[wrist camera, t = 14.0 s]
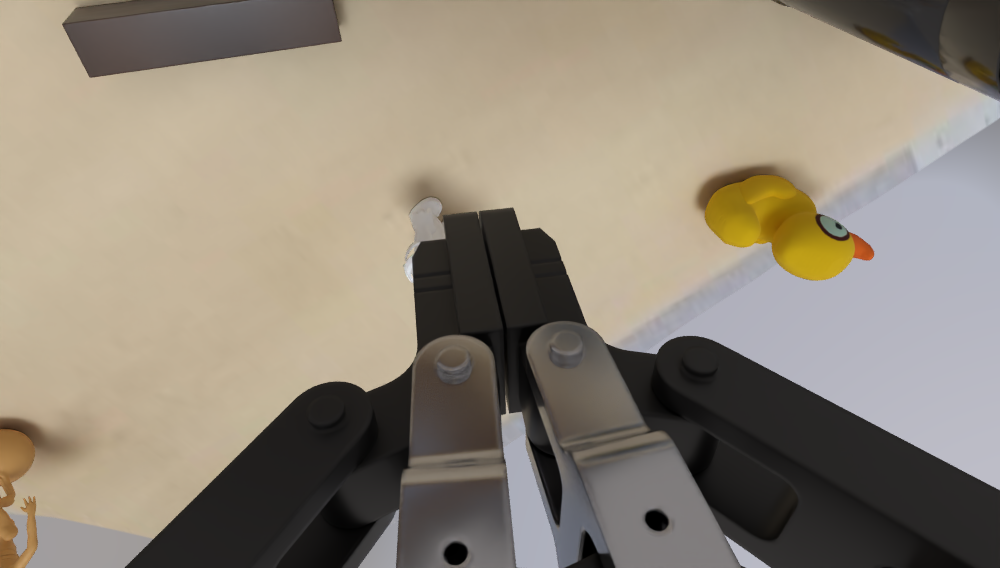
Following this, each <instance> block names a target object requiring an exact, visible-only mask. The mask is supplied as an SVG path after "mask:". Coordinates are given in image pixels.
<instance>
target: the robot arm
mask: <svg viewBox="0 0 1000 568" xmlns="http://www.w3.org/2000/svg"><path fill="white" fill-rule="evenodd" d="M772 1H774V2H776V3H779V4H781V5H784V6H788V7H792V8H794V9H796V10H799V11H801V12H803V13H805V14H808V15H810V16H811V17H813V18H816V19H818V20H820V21H822V22H824V23H827V24H829V25H831V26H833V27H836V28H838V29H840V30H842V31H844V32H847V33H849V34H851V35H853V36H855V37H858V38H860V39H862V40H864V41H866V42H869V43H871V44H873V45H875V46H877V47H880V48H882V49H884V50H886V51H889V52H891V53H893V54H895V55H897V56H900V57H902V58H904V59H906V60H908V61H911V62H913V63H915V64H917V65H919V66H922V67H924V68H926V69H928V70H930V71H933V72H935V73H937V74H939V75H941V76H944V77H946V78H948V79H950V80H953V81H955V82H957V83H960V84H962V85H964V86H967V87H969V88H971V89H973V90H975V91H978V92H980V93H982V94H984V95H986V96H989V97H991V98H993V99H995V100H997V101H1000V0H772ZM443 222H444V232H445V239H439V240H430V241H421V242H420V244H419V246H418V248H417V249H416V251H415V253H414V255H413V257H412V268H413V283H414V298H415V313H416V328H417V343H418V347H417V354H416V357H415V359H414V361H413V363H412V364H411V366H410V367H409V368H408V369H407V370H406V371H405V372H404V373H403V374H402V375H401V376H400V377H398V378H397V379H395V380H393V381H392V382H389V383H387V384H385V385H383V386H381V387H378V388H376V389H373V390H371V391H368V392H365V391H364V390H363V389H362V388H360V387H358V386H357V385H354V384H351V383H347V382H328V383H323V384H320V385H317V386H314V387H312V388H310V389H308V390H307V391H305V392H304V393H302V394H301V395H299V396H298V397H297V398H296V399H295V400H294V401H293V402H292V403H291V404H290V405H289V406H288V407H287V408H286V409H285V410H284V411H283V412H282V413H281V414H280V415H279V416H278V417H277V418H276V419H275V420H274V421H273V422H272V423H271V424H270V425H269V426H268V427H267V428H265V429H264V430H263V431H262V432H261V433H260V434H259V435H258V436H257V437H256V438H255V439H254V440H253V441H252V442H251V443H250V444H249V445H248V446H247V447H246V448H245V449H244V450H243V451H242V452H241V453H240V454H239V455H238V456H237V457H236V458H235V459H234V460H233V461H232V462H231V463H230V464H229V465H228V466H227V467H226V468H225V469H224V470H223V471H222V472H221V473H220V474H219V475H218V476H217V477H216V478H215V479H214V480H213V481H212V482H211V483H210V484H209V485H208V486H207V487H206V488H205V489H204V490H203V491H202V492H201V493H200V494H199V495H198V496H197V497H196V498H195V499H194V500H193V501H192V502H191V503H190V504H189V505H188V506H187V507H186V508H185V509H184V510H183V511H182V512H180V513H179V514H178V515H177V516H176V517H175V518H174V519H173V520H172V521H171V522H170V523H169V524H168V525H167V526H166V527H165V528H164V529H163V530H162V531H161V532H160V533H159V534H158V535H157V536H156V537H155V538H154V539H153V540H152V541H151V542H150V543H149V544H148V545H147V546H146V547H145V548H144V549H143V550H142V551H141V552H140V553H139V554H138V555H137V556H136V557H135V558H134V559H133V560H132V561H131V562H130V563H129V564H128V565H127V566H126V567H125V568H358V567H359V565H360V564H361V562H362V561H363V560H364V558H365V557H366V556H367V554H368V553H369V551H370V550H371V549H372V547H373V546H374V545H375V543H376V542H377V540H378V539H379V538H380V536H381V535H382V534H383V532H384V531H385V529H386V528H387V527H388V525H389V524H390V522H391V521H392V519H393V517H394V515H395V512H396V510H398V509H399V524H398V525H399V526H398V543H397V560H396V568H516V560H515V550H514V540H513V530H512V520H511V509H510V499H509V489H508V479H507V469H506V462H505V459H504V453H503V442H502V428H501V415H503V414H506V402H505V395H506V400H507V405H508V410H509V413H515V412H522V414H523V419H524V423H525V427H526V449H527V452H528V456H529V459H530V462H531V465H532V469H533V472H534V475H535V478H536V482H537V485H538V488H539V491H540V494H541V497H542V501H543V504H544V507H545V511H546V514H547V517H548V520H549V523H550V526H551V530H552V533H553V537H554V541H555V546H556V552H557V560H558V566H559V568H745V567H743V566H741V565H740V564H739V562H738V560H737V558H736V556H735V554H734V553H733V551H732V549H731V547H730V545H729V543H728V541H727V540H726V538H725V536H724V535H726V536H727V537H729V538H730V539H731V540H733V541H734V542H736V543H737V544H738V545H740V546H742V547H743V548H744V549H746V550H747V551H748V552H750V553H751V554H753V555H754V556H755V557H757V558H758V559H760V560H761V561H763V562H764V563H765V564H767V565H768V566H770V567H771V568H1000V490H998V489H996V488H994V487H992V486H990V485H988V484H986V483H985V482H983V481H981V480H979V479H977V478H975V477H973V476H971V475H969V474H967V473H965V472H963V471H962V470H959V469H958V468H956V467H954V466H952V465H950V464H948V463H946V462H944V461H943V460H941V459H939V458H937V457H935V456H933V455H931V454H929V453H927V452H925V451H924V450H921V449H920V448H918V447H916V446H914V445H912V444H910V443H908V442H906V441H904V440H902V439H901V438H899V437H897V436H895V435H893V434H891V433H889V432H887V431H885V430H883V429H881V428H880V427H878V426H876V425H874V424H872V423H870V422H868V421H866V420H864V419H863V418H861V417H859V416H857V415H855V414H853V413H851V412H849V411H847V410H845V409H843V408H842V407H839V406H838V405H836V404H834V403H832V402H830V401H828V400H826V399H824V398H822V397H821V396H819V395H817V394H815V393H813V392H811V391H809V390H807V389H805V388H803V387H801V386H800V385H798V384H796V383H794V382H792V381H790V380H788V379H786V378H784V377H782V376H780V375H779V374H777V373H775V372H773V371H771V370H769V369H767V368H765V367H763V366H761V365H759V364H758V363H756V362H754V361H752V360H750V359H748V358H746V357H744V356H742V355H740V354H739V353H737V352H735V351H733V350H731V349H729V348H727V347H725V346H723V345H721V344H719V343H717V342H715V341H713V340H710V339H707V338H703V337H698V336H683V337H677V338H674V339H671V340H669V341H668V342H666V343H665V344H664V345H663V346H662V347H661V348H660V349H659V351H658V353H657V354H650V353H642V352H634V351H627V350H622V349H619V348H615V347H613V346H610V345H608V344H606V343H605V342H604V340H603V339H602V337H601V336H600V335H599V334H598V333H597V332H596V331H594V330H593V329H591V328H590V327H588V326H587V324H586V322H585V319H584V316H583V314H582V311H581V308H580V306H579V303H578V300H577V298H576V295H575V293H574V290H573V287H572V285H571V282H570V279H569V277H568V275H567V273H566V269H565V266H564V264H563V261H562V260H561V256H560V253H559V250H558V248H557V245H556V243H555V241H554V240H553V239H552V238H551V237H549V236H548V235H547V234H546V233H545V232H544V231H543V230H542V229H540V228H536V229H527V230H520V227H519V224H518V220H517V217H516V214H515V211H514V209H513V208H504V209H495V210H485V211H479V218H478V214H477V212H468V213H459V214H450V215H443Z"/></svg>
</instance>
